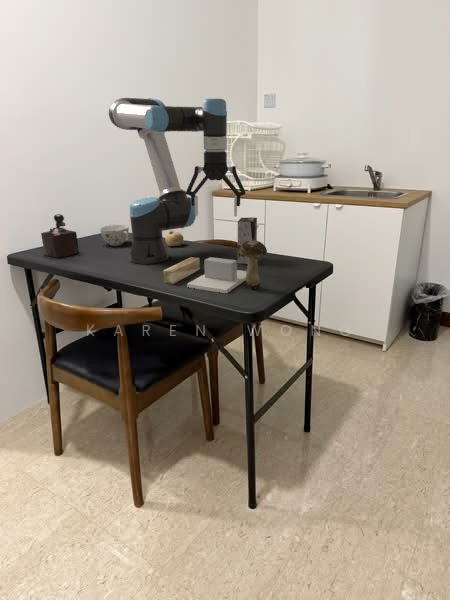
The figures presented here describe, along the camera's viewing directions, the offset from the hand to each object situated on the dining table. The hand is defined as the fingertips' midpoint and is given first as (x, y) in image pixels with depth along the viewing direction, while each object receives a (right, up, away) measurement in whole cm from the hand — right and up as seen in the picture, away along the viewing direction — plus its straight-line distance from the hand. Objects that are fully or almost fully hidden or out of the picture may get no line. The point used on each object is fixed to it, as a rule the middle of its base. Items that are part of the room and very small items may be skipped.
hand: (216, 215), depth 145 cm
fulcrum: (+2, -23, -6) cm, 24 cm away
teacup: (-46, -4, +45) cm, 64 cm away
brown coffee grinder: (-64, -11, +30) cm, 72 cm away
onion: (-19, -5, +42) cm, 46 cm away
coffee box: (+12, -14, +16) cm, 25 cm away
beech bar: (-12, -21, +1) cm, 24 cm away
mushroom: (+12, -26, -13) cm, 31 cm away
